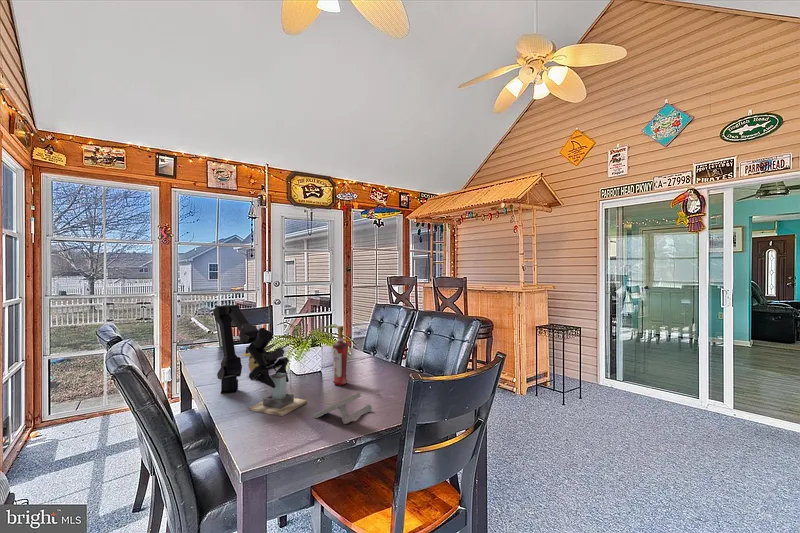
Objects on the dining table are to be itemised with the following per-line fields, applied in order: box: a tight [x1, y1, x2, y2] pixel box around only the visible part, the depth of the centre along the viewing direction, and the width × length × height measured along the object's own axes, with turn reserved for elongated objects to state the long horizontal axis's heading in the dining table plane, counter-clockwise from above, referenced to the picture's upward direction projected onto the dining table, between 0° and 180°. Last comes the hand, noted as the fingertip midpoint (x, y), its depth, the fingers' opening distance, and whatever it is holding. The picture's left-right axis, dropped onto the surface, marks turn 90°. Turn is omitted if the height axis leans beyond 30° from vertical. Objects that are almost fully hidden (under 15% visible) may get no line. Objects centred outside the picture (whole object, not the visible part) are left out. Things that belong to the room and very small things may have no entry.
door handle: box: [312, 391, 373, 425], centre depth 148 cm, size 18×8×20 cm
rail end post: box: [270, 373, 287, 400], centre depth 158 cm, size 4×4×12 cm
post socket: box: [248, 392, 308, 417], centre depth 158 cm, size 16×16×4 cm
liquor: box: [332, 325, 349, 386], centre depth 188 cm, size 7×7×28 cm
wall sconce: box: [241, 352, 258, 373], centre depth 203 cm, size 14×10×25 cm
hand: (281, 384), depth 157 cm, fingers open, 8 cm apart
